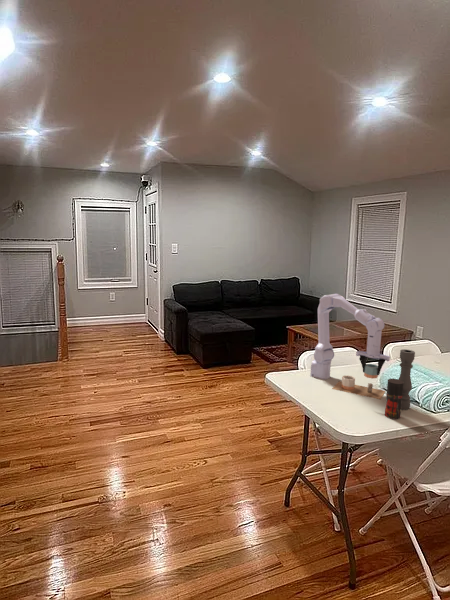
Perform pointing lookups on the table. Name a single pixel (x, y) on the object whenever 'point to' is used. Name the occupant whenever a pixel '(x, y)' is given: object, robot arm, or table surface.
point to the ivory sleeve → (348, 382)
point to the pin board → (362, 390)
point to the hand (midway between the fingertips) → (371, 373)
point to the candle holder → (406, 376)
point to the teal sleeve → (371, 371)
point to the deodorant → (394, 398)
